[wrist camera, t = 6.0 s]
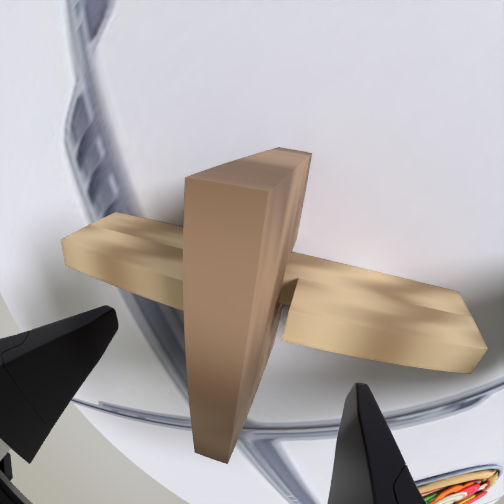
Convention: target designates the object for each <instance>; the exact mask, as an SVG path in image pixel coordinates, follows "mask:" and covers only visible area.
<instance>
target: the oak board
mask: <svg viewBox="0 0 504 504" xmlns="http://www.w3.org/2000/svg"><path fill="white" fill-rule="evenodd" d="M61 244H62V249H63V255H64V260H65V265H66V266H69V267H71V268H73V269H75V270H78V271H80V272H82V273H85V274H87V275H89V276H92V277H94V278H97V279H99V280H101V281H104V282H106V283H109V284H111V285H114V286H116V287H119V288H121V289H124V290H127V291H129V292H132V293H134V294H137V295H140V296H142V297H145V298H148V299H151V300H153V301H156V302H159V303H162V304H165V305H167V306H170V307H173V308H176V309H179V310H182V311H184V305H183V227H181V226H177V225H172V224H168V223H163V222H159V221H154V220H150V219H145V218H141V217H136V216H131V215H127V214H122V213H118V212H115V213H113V214H111V215H109V216H106V217H104V218H102V219H100V220H98V221H96V222H94V223H92V224H90V225H88V226H86V227H84V228H82V229H81V230H79V231H77V232H75V233H73V234H71V235H69V236H67V237H65V238H64V239H62V240H61ZM279 303H282V304H286V305H290V309H289V313H288V317H287V321H286V325H285V329H284V333H283V337H282V340H283V341H287V342H291V343H295V344H299V345H303V346H308V347H312V348H316V349H321V350H325V351H330V352H334V353H339V354H344V355H348V356H353V357H358V358H364V359H369V360H374V361H380V362H386V363H391V364H398V365H404V366H410V367H417V368H424V369H432V370H440V371H448V372H457V373H468V374H471V372H472V371H473V370H474V368H475V367H476V365H477V364H478V363H479V361H480V360H481V358H482V357H483V356H484V354H485V353H486V351H487V350H488V348H487V346H486V344H485V342H484V340H483V338H482V335H481V333H480V331H479V329H478V327H477V325H476V323H475V321H474V319H473V318H472V316H471V314H470V312H469V310H468V308H467V306H466V305H465V303H464V301H463V299H462V297H461V296H460V294H459V292H457V291H453V290H449V289H445V288H441V287H437V286H432V285H428V284H424V283H420V282H416V281H412V280H408V279H404V278H400V277H396V276H392V275H388V274H383V273H379V272H375V271H371V270H367V269H363V268H359V267H354V266H350V265H346V264H342V263H338V262H333V261H329V260H325V259H321V258H316V257H312V256H308V255H304V254H299V253H295V252H291V254H290V257H289V260H288V262H287V265H286V269H285V274H284V279H283V284H282V289H281V293H280V298H279Z"/></svg>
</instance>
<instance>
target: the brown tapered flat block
mask: <svg viewBox="0 0 504 504" xmlns="http://www.w3.org/2000/svg"><path fill="white" fill-rule="evenodd" d="M311 155H312V153H308V152H302V151H297V150H291V149H286V148H280V147H278V148H275V149H271V150H268V151H264V152H261V153H258V154H254V155H251V156H248V157H244V158H241V159H238V160H235V161H232V162H229V163H225V164H222V165H219V166H216V167H213V168H211V169H208V170H205V171H202V172H199V173H196V174H193V175H191V176H188V177H185V192H184V220H183V305H184V333H185V353H186V368H187V382H188V394H189V405H190V415H191V424H192V433H193V441H194V449H195V453H198V454H200V455H203V456H206V457H209V458H211V459H214V460H217V461H220V462H223V463H226V464H228V462H229V459H230V457H231V454H232V452H233V450H234V447H235V445H236V442H237V440H238V437H239V435H240V432H241V430H242V427H243V425H244V422H245V420H246V417H247V415H248V412H249V410H250V407H251V404H252V402H253V399H254V397H255V394H256V391H257V389H258V386H259V383H260V380H261V378H262V375H263V372H264V369H265V367H266V364H267V361H268V358H269V356H270V353H271V350H272V347H273V344H274V340H275V336H276V332H277V327H278V323H279V319H280V314H281V310H282V305H283V304H282V303H279V298H280V293H281V289H282V284H283V279H284V274H285V269H286V265H287V262H288V260H289V257H290V254H291V252H292V249H293V247H294V244H295V242H296V239H297V234H298V228H299V223H300V218H301V213H302V207H303V202H304V196H305V191H306V185H307V179H308V173H309V167H310V161H311Z"/></svg>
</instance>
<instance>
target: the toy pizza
mask: <svg viewBox="0 0 504 504" xmlns="http://www.w3.org/2000/svg"><path fill="white" fill-rule="evenodd" d="M502 472H503V468H502V467H501V466H497V465H483V466H477V467H472V468H467V469H463V470H459V471H455V472H451V473H447V474H443V475H439V476H436V477H432V478H428V479H425V480H421V481H417V482H415V484H416V486H417V488H418V490H419V491H420V493H421V495H422V497H423V498H424V500H425V502H426V503H427V504H470V503H472V502H474V501H476V500H478V499H479V498H481V497H482V496H484V495H485V494H486V493H487V491H486V490H487V489H489V488H490V487H491V486H492V485H493V484H494V483H495V482H496V480H497V479H498V478H499V477H500V476H501V474H502Z"/></svg>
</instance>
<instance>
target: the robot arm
mask: <svg viewBox="0 0 504 504" xmlns="http://www.w3.org/2000/svg"><path fill="white" fill-rule="evenodd" d="M118 325H119V324H118V319H117V315H116V311H115V309H114V308H112V307H110V306H107V305H105V306H102V307H99V308H96V309H93V310H90V311H87V312H84V313H81V314H78V315H75V316H72V317H69V318H66V319H63V320H60V321H57V322H54V323H51V324H48V325H45V326H42V327H38V328H35V329H32V330H31V331H30V330H29V331H26V332H23V333H20V334H17V335H13V336H9V337H6V338H1V339H0V504H32V503H31V502H30V501H29V500H28V499H27V498H26V497H25V496H24V495H23V494H22V493H21V492H20V491H19V490H18V489H17V488H16V487H15V486H14V485H13V484H12V483H11V482H10V481H11V479H12V478H13V476H12V467H11V457H10V454H9V453H8V451H9V450H10V449H12V450H14V451H15V452H16V453H17V454H18V455H19V456H21V457H22V458H23V459H24V460H26V461H27V462H28V463H29V464H30V463H31V462H32V460H33V458H34V457H35V455H36V453H37V452H38V450H39V449H40V447H41V445H42V444H43V442H44V441H45V439H46V437H47V436H48V434H49V433H50V431H51V429H52V428H53V426H54V425H55V423H56V422H57V420H58V419H59V417H60V416H61V414H62V413H63V411H64V409H65V408H66V407H67V405H68V404H69V402H70V401H71V399H72V398H73V397H74V395H75V394H76V392H77V391H78V389H79V388H80V387H81V385H82V384H83V382H84V381H85V379H86V378H87V377H88V375H89V374H90V372H91V371H92V370H93V368H94V367H95V366H96V364H97V363H98V361H99V360H100V358H101V357H102V355H103V354H104V352H105V350H106V348H107V347H108V345H109V343H110V342H111V340H112V338H113V337H114V335H115V333H116V332H117V330H118ZM405 464H406V463H405V461H404V459H403V457H402V454H401V452H400V450H399V448H398V446H397V444H396V442H395V439H394V437H393V435H392V433H391V431H390V429H389V427H388V425H387V423H386V421H385V419H384V417H383V415H382V413H381V410H380V408H379V406H378V404H377V402H376V400H375V398H374V396H373V394H372V392H371V390H370V389H369V387H368V385H367V384H363V383H355V384H354V385H353V387H352V389H351V390H350V392H349V394H348V395H347V397H346V400H345V404H344V409H343V414H342V419H341V423H340V428H339V432H338V437H337V442H336V450H335V459H334V466H333V473H332V480H331V487H330V493H329V499H328V504H427V503H426V502H425V500H424V498H423V497H422V495H421V493H420V491H419V490H418V488H417V486H416V484H415V482H414V480H413V478H412V476H411V474H410V472H409V469H408V467H407V465H405Z"/></svg>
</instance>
